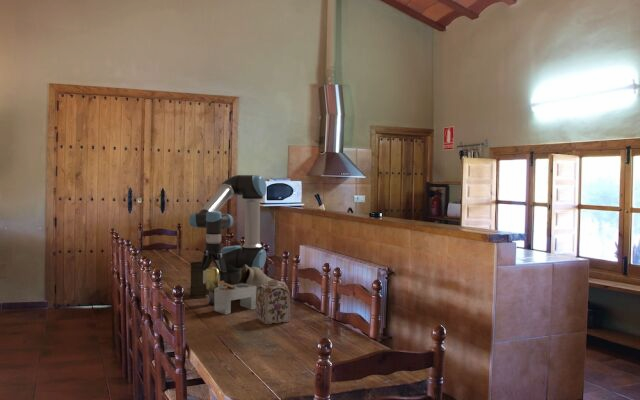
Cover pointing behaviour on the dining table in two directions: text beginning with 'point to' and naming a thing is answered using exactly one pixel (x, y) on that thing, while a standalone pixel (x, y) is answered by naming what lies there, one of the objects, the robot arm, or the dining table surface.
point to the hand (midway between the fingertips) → (213, 285)
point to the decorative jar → (273, 302)
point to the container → (197, 281)
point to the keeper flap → (226, 284)
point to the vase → (254, 277)
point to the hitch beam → (234, 297)
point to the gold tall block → (211, 282)
